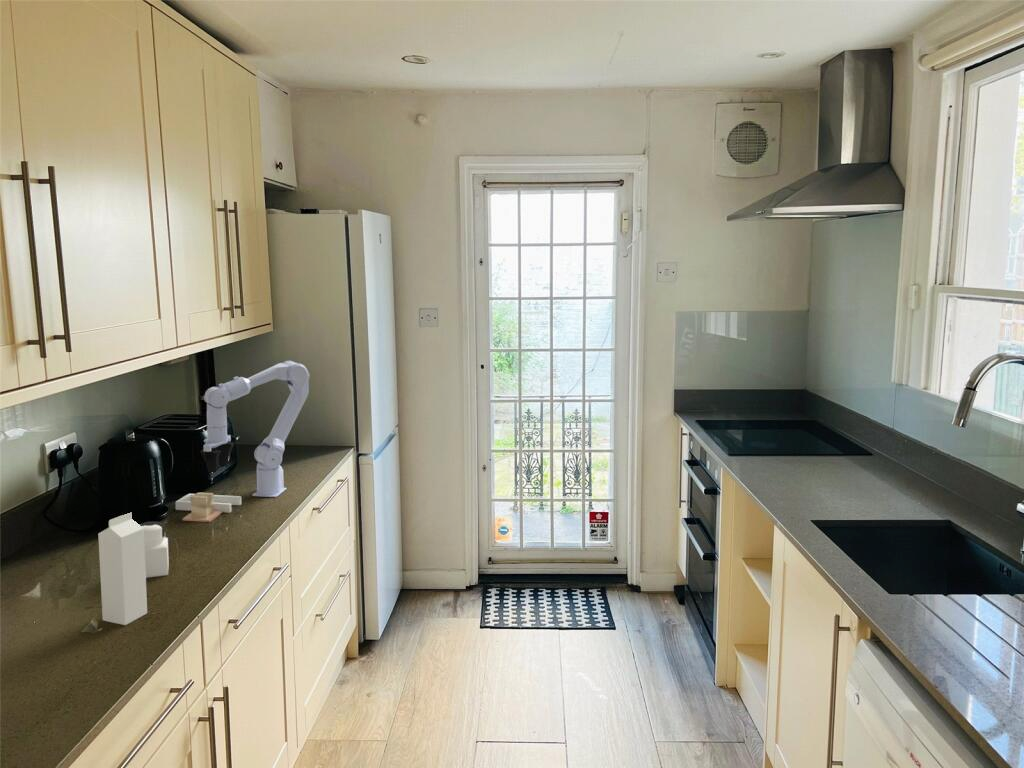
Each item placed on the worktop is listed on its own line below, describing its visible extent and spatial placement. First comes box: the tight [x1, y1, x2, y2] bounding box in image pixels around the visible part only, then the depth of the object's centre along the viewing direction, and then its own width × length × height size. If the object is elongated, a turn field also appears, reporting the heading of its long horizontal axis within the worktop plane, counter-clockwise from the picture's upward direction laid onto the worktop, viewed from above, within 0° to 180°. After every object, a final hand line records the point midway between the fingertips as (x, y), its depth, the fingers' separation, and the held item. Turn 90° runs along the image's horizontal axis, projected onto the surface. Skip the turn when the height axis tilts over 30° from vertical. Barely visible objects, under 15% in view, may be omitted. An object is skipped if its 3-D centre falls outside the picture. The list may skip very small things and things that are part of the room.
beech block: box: [191, 492, 214, 518], centre depth 219 cm, size 4×4×6 cm
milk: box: [97, 512, 148, 626], centre depth 155 cm, size 6×6×22 cm
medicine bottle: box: [139, 520, 170, 579], centre depth 179 cm, size 7×7×12 cm
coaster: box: [182, 511, 223, 523], centre depth 220 cm, size 8×8×1 cm
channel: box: [175, 493, 243, 513], centre depth 229 cm, size 8×17×2 cm, turn 86°
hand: (218, 468), depth 233 cm, fingers open, 7 cm apart
